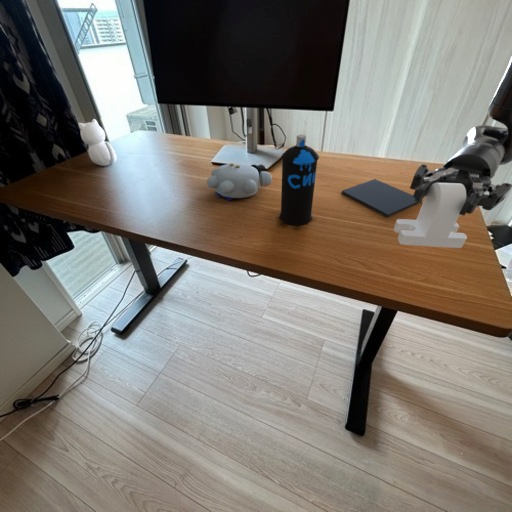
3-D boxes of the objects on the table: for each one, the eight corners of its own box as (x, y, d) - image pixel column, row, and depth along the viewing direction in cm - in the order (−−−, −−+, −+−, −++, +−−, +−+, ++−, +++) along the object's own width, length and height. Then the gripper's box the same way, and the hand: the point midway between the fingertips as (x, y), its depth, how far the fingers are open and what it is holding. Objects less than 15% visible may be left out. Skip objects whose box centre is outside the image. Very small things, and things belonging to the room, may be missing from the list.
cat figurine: (106, 157, 109) (90, 116, 99) (128, 161, 104) (113, 119, 94) (86, 165, 103) (67, 122, 93) (108, 170, 98) (91, 126, 88)
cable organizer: (462, 248, 45) (494, 193, 38) (399, 244, 46) (419, 191, 40) (451, 230, 49) (477, 178, 42) (393, 227, 50) (410, 176, 44)
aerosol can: (275, 212, 72) (276, 133, 59) (303, 206, 73) (310, 128, 60) (287, 228, 66) (291, 144, 53) (317, 222, 67) (328, 139, 54)
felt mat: (421, 201, 73) (422, 199, 73) (387, 217, 68) (388, 214, 67) (374, 181, 84) (374, 178, 83) (341, 193, 79) (341, 190, 78)
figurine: (237, 210, 72) (282, 191, 84) (236, 179, 67) (285, 163, 79) (196, 192, 81) (243, 177, 93) (194, 163, 76) (243, 151, 88)
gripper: (436, 140, 52) (400, 167, 43) (532, 156, 44) (513, 194, 35) (422, 177, 56) (387, 208, 47) (506, 198, 48) (484, 240, 39)
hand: (440, 202), depth 41 cm, fingers closed on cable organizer, 5 cm apart
